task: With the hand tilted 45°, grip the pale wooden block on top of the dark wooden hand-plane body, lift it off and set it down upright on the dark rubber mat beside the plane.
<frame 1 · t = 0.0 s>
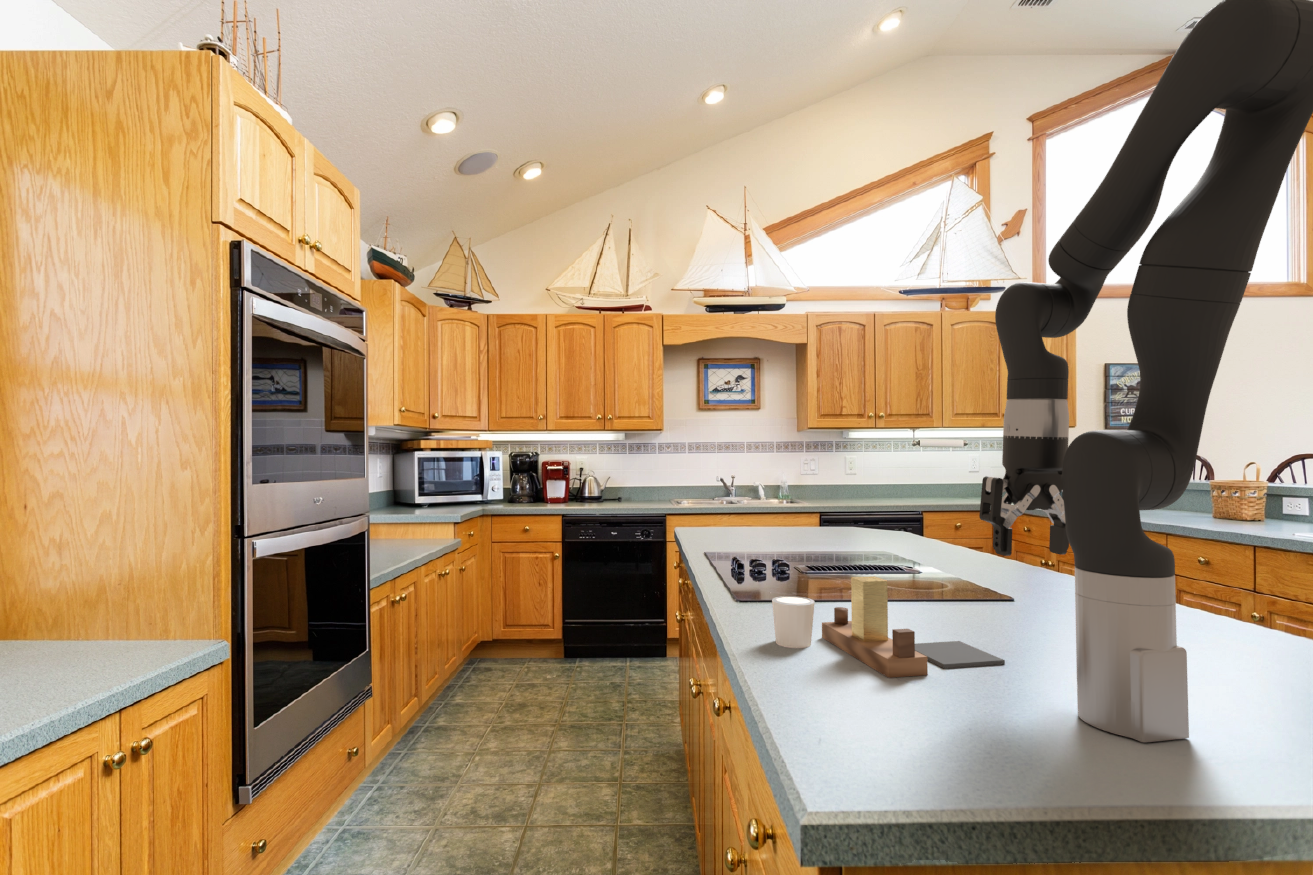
hand: (1030, 554, 85), 17 cm above the countertop, tool pointing down, fingers open, 8 cm apart
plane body: (869, 654, 97), on the countertop
pale wooden block: (869, 637, 97), point 2 cm above the countertop, touching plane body
white cup: (793, 644, 103), on the countertop
mat: (952, 655, 96), on the countertop
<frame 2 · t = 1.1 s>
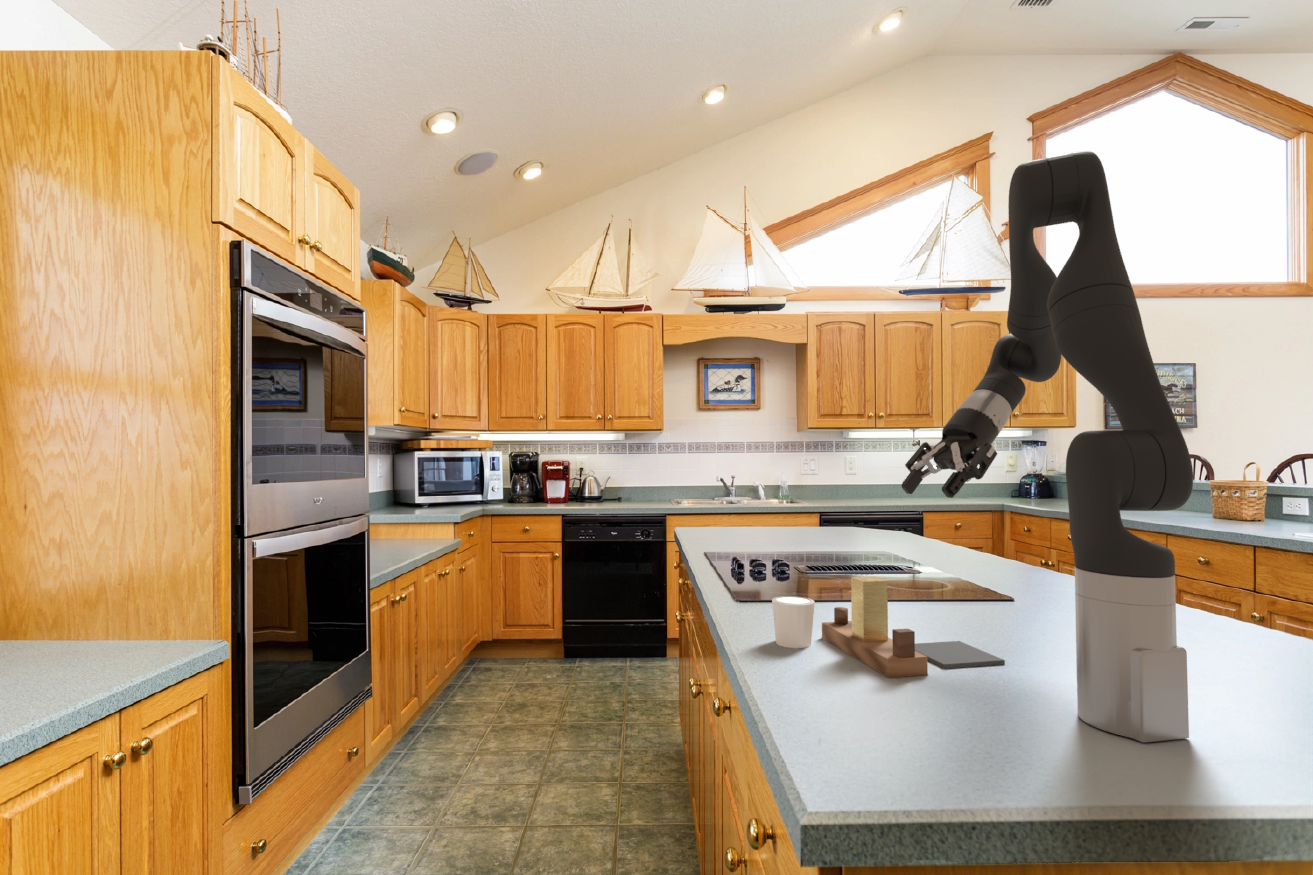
hand: (925, 492, 102), 25 cm above the countertop, tool tilted 45°, fingers open, 8 cm apart
nothing on the countertop moved.
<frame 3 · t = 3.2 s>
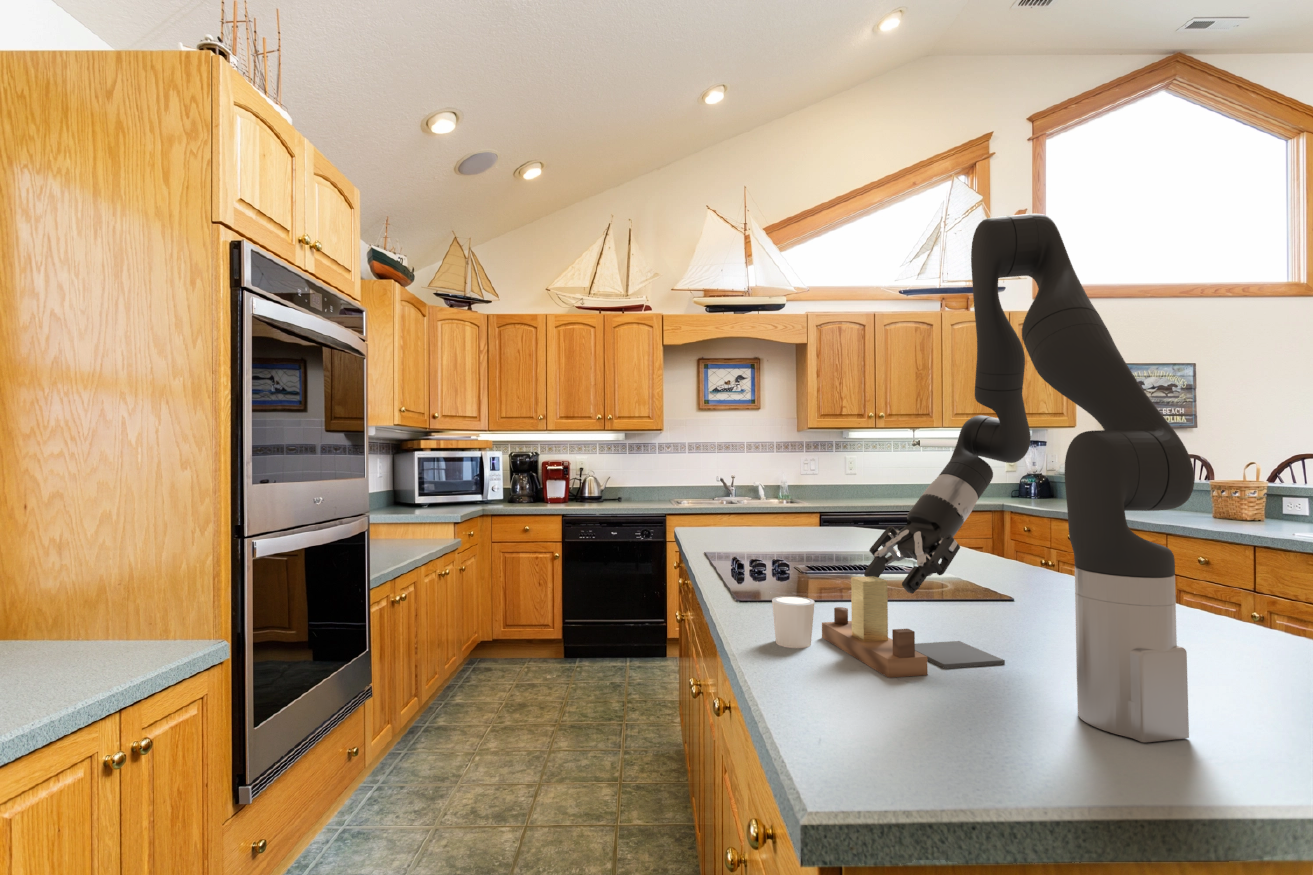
hand: (886, 584, 99), 10 cm above the countertop, tool tilted 45°, fingers open, 8 cm apart
nothing on the countertop moved.
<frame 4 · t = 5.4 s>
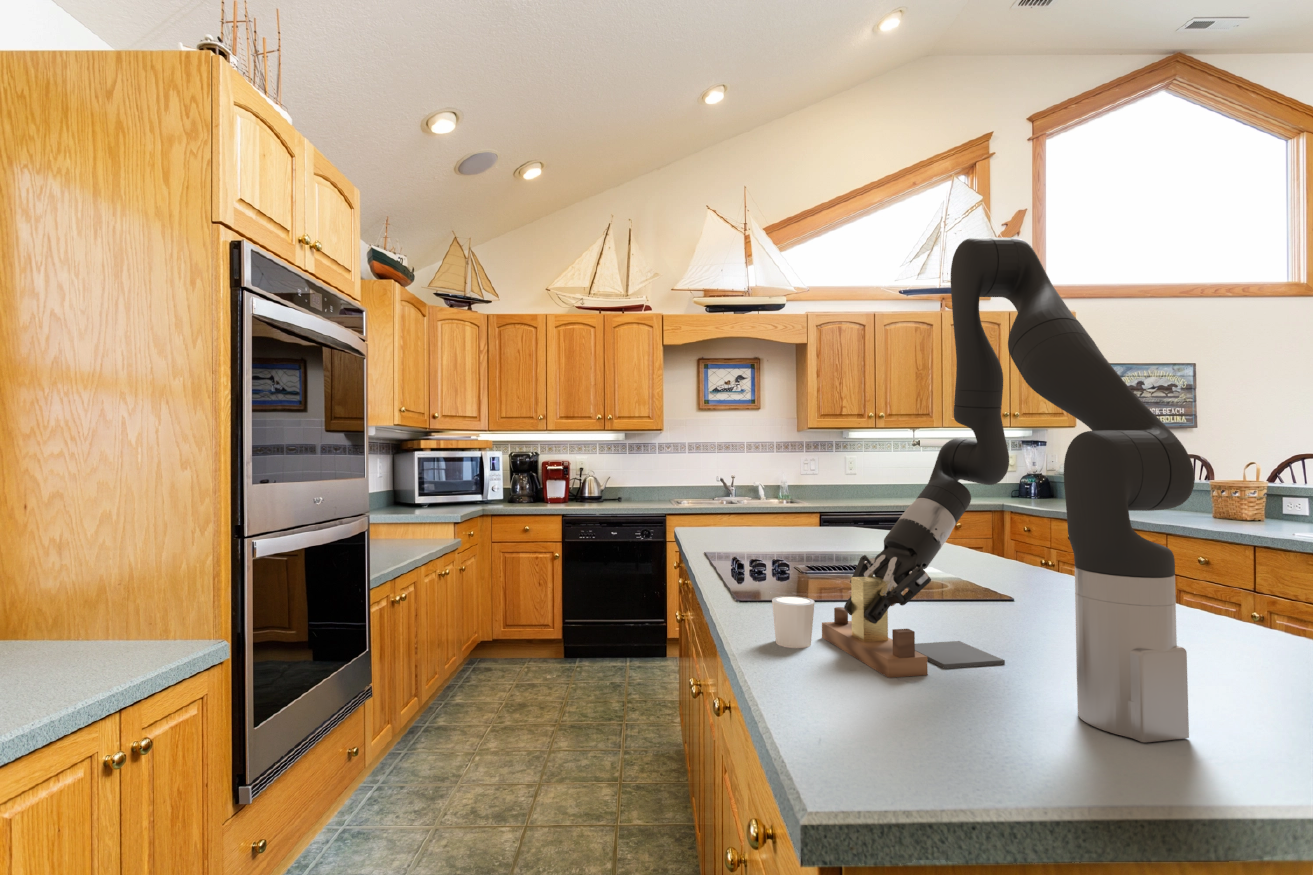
hand: (859, 615, 96), 6 cm above the countertop, tool tilted 45°, fingers closed on pale wooden block, 4 cm apart
pale wooden block: (869, 637, 97), point 3 cm above the countertop, touching gripper, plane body
everything else where it was.
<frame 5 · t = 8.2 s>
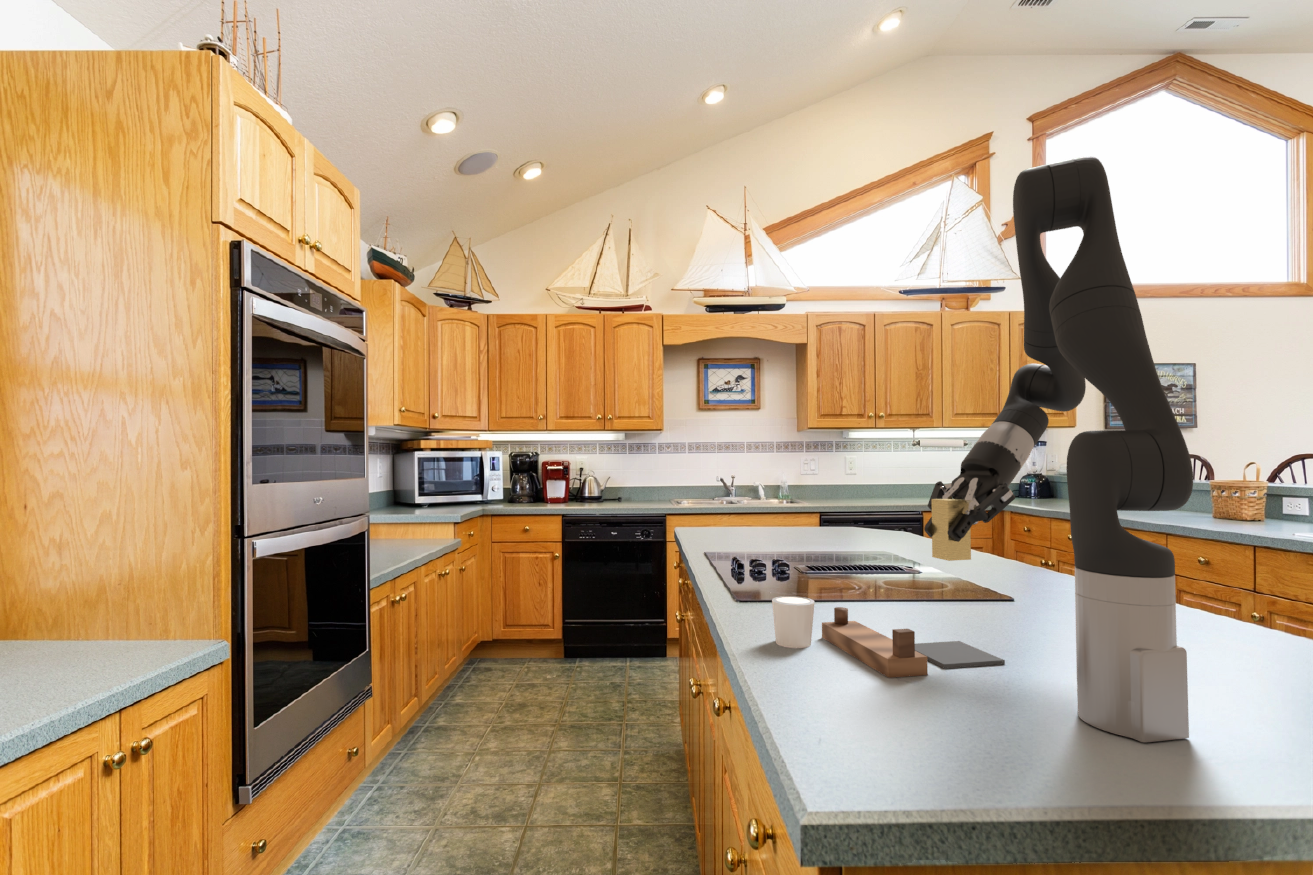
hand: (940, 535, 96), 18 cm above the countertop, tool tilted 45°, fingers closed on pale wooden block, 4 cm apart
pale wooden block: (951, 558, 97), point 15 cm above the countertop, touching gripper
everything else where it was.
when the fingers open (6 cm above the countertop, at t = 11.1 s): pale wooden block drops 1 cm, resting on mat.
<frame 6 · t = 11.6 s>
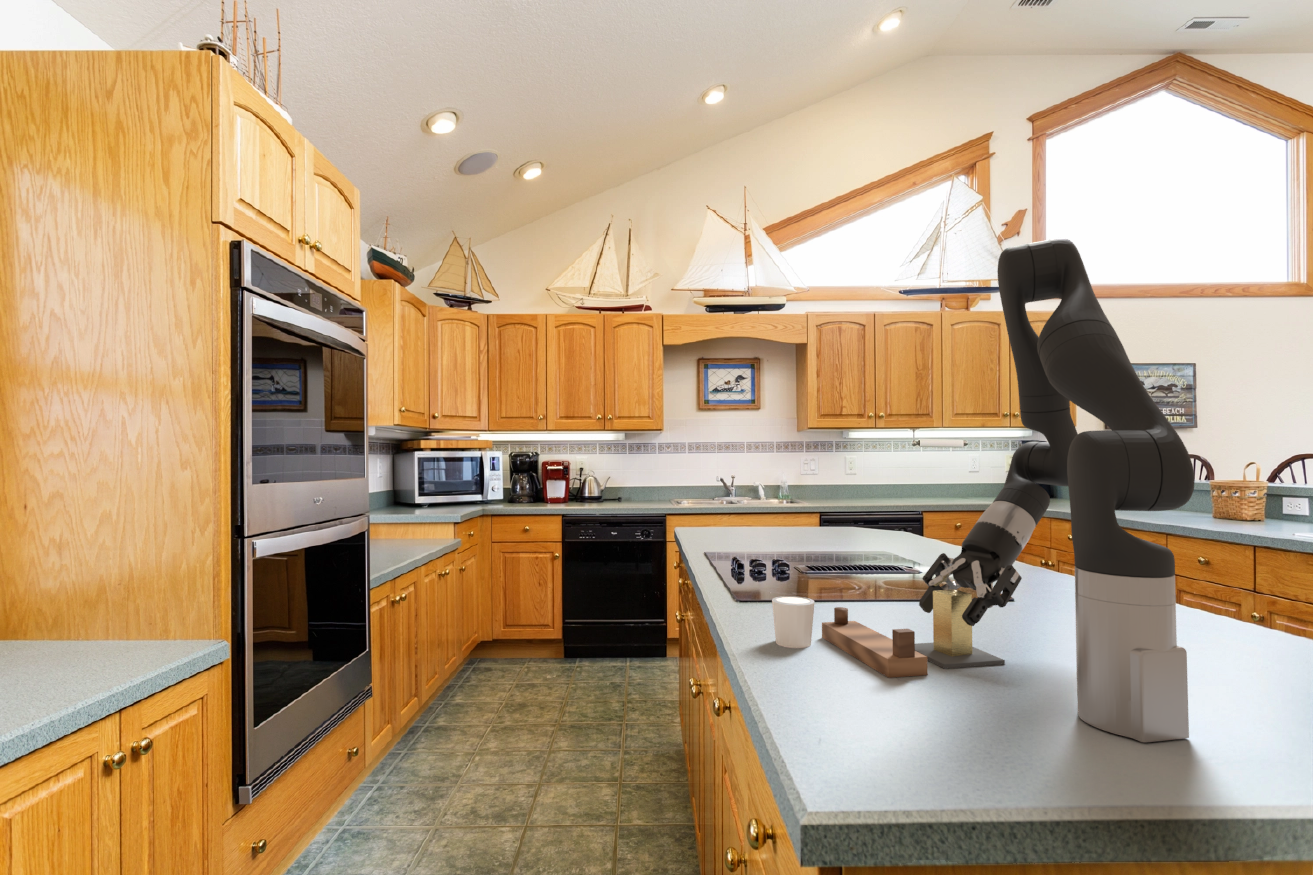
hand: (944, 615, 96), 6 cm above the countertop, tool tilted 45°, fingers open, 8 cm apart
pale wooden block: (952, 651, 96), point 1 cm above the countertop, touching mat
everything else where it was.
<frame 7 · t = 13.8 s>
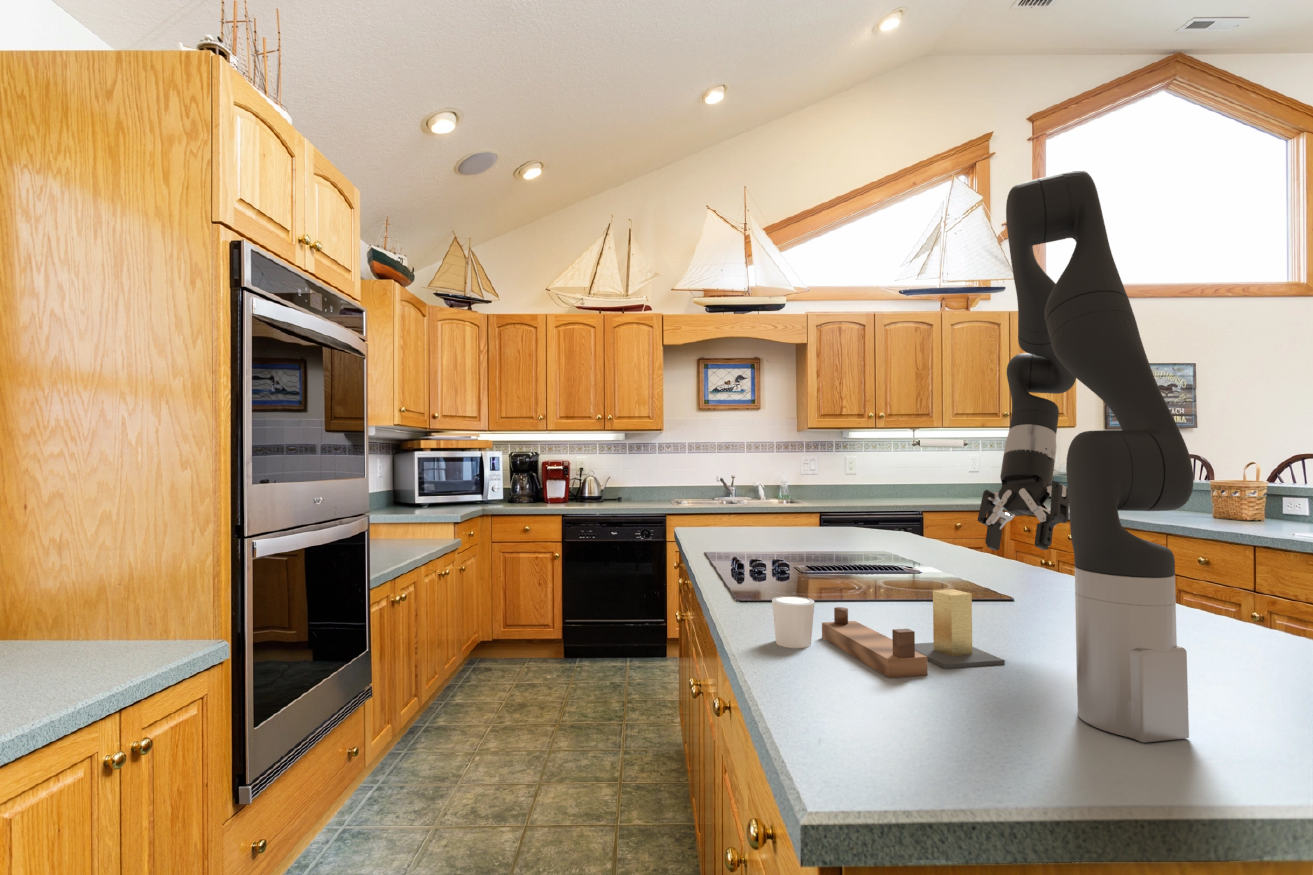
hand: (1016, 548, 102), 16 cm above the countertop, tool tilted 25°, fingers open, 8 cm apart
nothing on the countertop moved.
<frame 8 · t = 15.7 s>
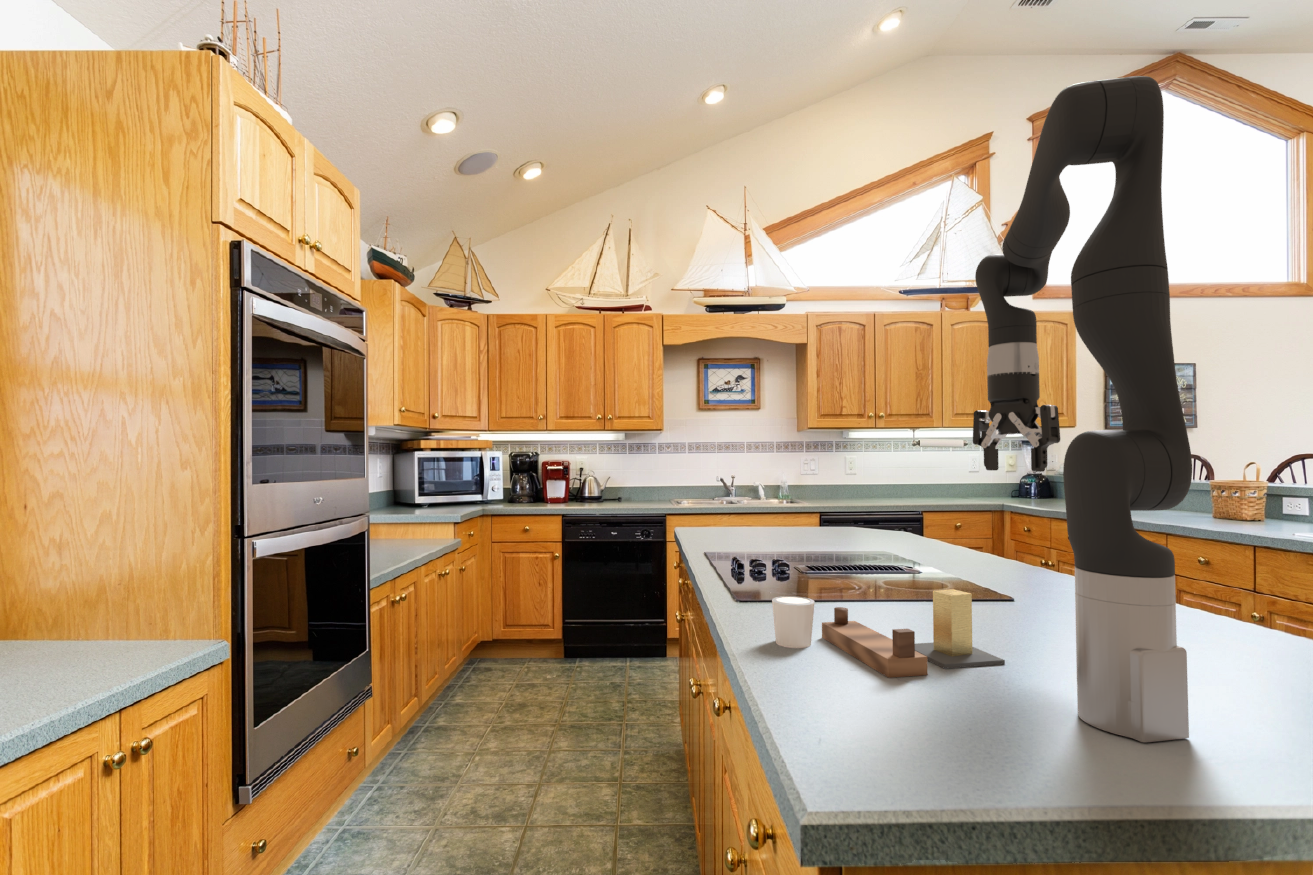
hand: (1014, 470, 104), 28 cm above the countertop, tool pointing down, fingers open, 8 cm apart
nothing on the countertop moved.
at the end: pale wooden block inside the target area on the mat (0.2 cm from its centre), point 0.6 cm above the mat's base; pale wooden block tilted 0°; pale wooden block touching mat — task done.
